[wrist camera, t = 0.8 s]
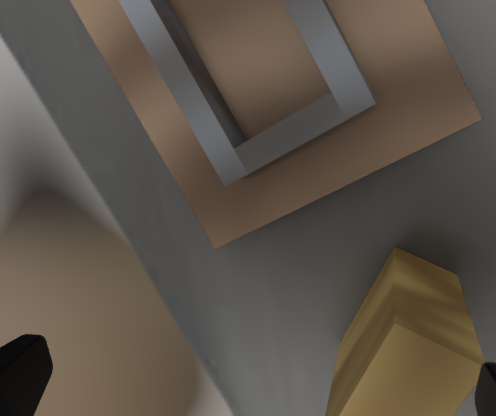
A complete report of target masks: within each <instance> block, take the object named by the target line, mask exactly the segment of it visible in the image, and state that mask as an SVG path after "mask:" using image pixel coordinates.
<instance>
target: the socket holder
mask: <svg viewBox="0 0 496 416" xmlns="http://www.w3.org/2000/svg"><path fill="white" fill-rule="evenodd" d="M70 1H71V3H72V5H73V6H74V8H75V10H76V12H77V13H78V15H79V17H80V18H81V20H82V22H83V24H84V25H85V27H86V29H87V30H88V32H89V34H90V36H91V37H92V39H93V41H94V42H95V44H96V46H97V48H98V49H99V51H100V53H101V55H102V56H103V58H104V60H105V61H106V63H107V65H108V67H109V68H110V70H111V72H112V73H113V75H114V77H115V79H116V80H117V82H118V84H119V85H120V87H121V89H122V91H123V92H124V94H125V96H126V97H127V99H128V101H129V103H130V104H131V106H132V108H133V109H134V111H135V113H136V115H137V116H138V118H139V120H140V121H141V123H142V125H143V127H144V128H145V130H146V132H147V133H148V135H149V137H150V139H151V140H152V142H153V144H154V146H155V147H156V149H157V151H158V152H159V154H160V156H161V158H162V159H163V161H164V163H165V164H166V166H167V168H168V170H169V171H170V173H171V175H172V176H173V178H174V180H175V182H176V183H177V185H178V187H179V188H180V190H181V192H182V194H183V195H184V197H185V199H186V200H187V202H188V204H189V206H190V207H191V209H192V211H193V212H194V214H195V216H196V218H197V219H198V221H199V223H200V224H201V226H202V228H203V230H204V231H205V233H206V235H207V237H208V238H209V240H210V242H211V243H212V245H213V247H214V249H217V248H219V247H221V246H223V245H225V244H227V243H229V242H231V241H233V240H235V239H238V238H240V237H242V236H244V235H246V234H248V233H250V232H252V231H254V230H256V229H258V228H260V227H262V226H264V225H266V224H268V223H270V222H272V221H274V220H277V219H279V218H281V217H283V216H285V215H287V214H289V213H291V212H293V211H295V210H297V209H299V208H301V207H303V206H305V205H307V204H309V203H311V202H313V201H316V200H318V199H320V198H322V197H324V196H326V195H328V194H330V193H332V192H334V191H336V190H338V189H340V188H342V187H344V186H346V185H348V184H350V183H353V182H355V181H357V180H359V179H361V178H363V177H365V176H367V175H369V174H371V173H373V172H375V171H377V170H379V169H381V168H383V167H385V166H387V165H389V164H392V163H394V162H396V161H398V160H400V159H402V158H404V157H406V156H408V155H410V154H412V153H414V152H416V151H418V150H420V149H422V148H424V147H426V146H428V145H431V144H433V143H435V142H437V141H439V140H441V139H443V138H445V137H447V136H449V135H451V134H453V133H455V132H457V131H459V130H461V129H463V128H465V127H467V126H470V125H472V124H474V123H476V122H478V121H480V120H482V119H483V118H482V116H481V114H480V112H479V110H478V108H477V106H476V104H475V102H474V100H473V98H472V96H471V94H470V92H469V90H468V88H467V86H466V84H465V82H464V80H463V78H462V76H461V74H460V72H459V70H458V68H457V66H456V64H455V62H454V60H453V58H452V56H451V54H450V52H449V50H448V48H447V46H446V44H445V42H444V40H443V38H442V36H441V34H440V32H439V30H438V28H437V26H436V24H435V22H434V20H433V18H432V16H431V14H430V12H429V10H428V8H427V6H426V4H425V2H424V0H70Z"/></svg>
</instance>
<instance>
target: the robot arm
mask: <svg viewBox="0 0 496 416" xmlns="http://www.w3.org/2000/svg"><path fill="white" fill-rule="evenodd" d="M52 370H53V363H52V359H51V356H50V352H49V349H48V346H47V342H46V339H45V338H44V337H43V336H41V335H32V334H25V335H22V336H20V337H18V338H16V339H14V340H13V341H11V342H9V343H7V344H6V345H4V346H2V347H0V416H34V413H35V411H36V409H37V407H38V404H39V402H40V400H41V398H42V395H43V393H44V391H45V388H46V386H47V384H48V381H49V379H50V377H51V374H52ZM475 406H476V410H477V414H478V416H496V363H493V362H486V363H483V365H482V366H481V369H480V373H479V378H478V382H477V387H476V391H475Z"/></svg>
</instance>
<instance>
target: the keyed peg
mask: <svg viewBox="0 0 496 416" xmlns="http://www.w3.org/2000/svg"><path fill="white" fill-rule="evenodd" d="M483 363H485V360H484V357H483V354H482V350H481V347H480V344H479V341H478V338H477V335H476V332H475V329H474V326H473V323H472V319H471V316H470V313H469V310H468V307H467V304H466V301H465V298H464V295H463V291H462V288H461V285H460V282H459V279H458V276H457V275H456V274H454V273H451V272H449V271H447V270H445V269H443V268H441V267H438V266H436V265H434V264H432V263H430V262H428V261H425V260H423V259H421V258H419V257H417V256H415V255H412V254H410V253H408V252H406V251H404V250H402V249H400V248H397V247H395V246H394V247H393V249H392V251H391V253H390V254H389V256H388V258H387V260H386V262H385V263H384V265H383V267H382V269H381V271H380V272H379V274H378V276H377V278H376V280H375V281H374V283H373V285H372V287H371V289H370V290H369V292H368V294H367V296H366V298H365V299H364V301H363V303H362V305H361V307H360V308H359V310H358V312H357V314H356V316H355V317H354V319H353V321H352V323H351V325H350V326H349V328H348V330H347V332H346V334H345V335H344V337H343V339H342V341H341V343H340V345H339V350H338V355H337V360H336V365H335V370H334V375H333V380H332V386H331V391H330V396H329V401H328V406H327V411H326V416H453V414H454V413H455V412H456V410H457V409H458V408H459V406H460V405H461V404H462V402H463V401H464V399H465V398H466V397H467V395H468V394H469V393H470V391H471V390H472V389H473V387H474V386H475V384H476V383H477V382H478V378H479V373H480V369H481V366H482V365H483Z"/></svg>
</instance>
